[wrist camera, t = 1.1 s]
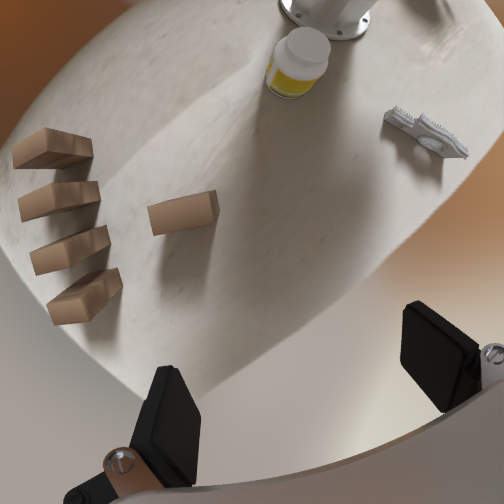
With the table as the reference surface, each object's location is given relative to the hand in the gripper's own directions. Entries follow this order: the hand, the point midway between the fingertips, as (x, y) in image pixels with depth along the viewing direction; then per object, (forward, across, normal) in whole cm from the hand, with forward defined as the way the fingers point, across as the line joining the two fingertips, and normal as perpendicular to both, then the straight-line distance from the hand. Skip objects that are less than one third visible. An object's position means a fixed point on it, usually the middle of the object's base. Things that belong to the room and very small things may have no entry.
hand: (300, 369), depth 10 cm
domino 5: (+23, +5, -6) cm, 24 cm away
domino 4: (+23, +20, 0) cm, 30 cm away
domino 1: (+23, +19, -16) cm, 34 cm away
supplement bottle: (+23, -8, -18) cm, 31 cm away
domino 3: (+23, +19, -5) cm, 31 cm away
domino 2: (+23, +19, -11) cm, 32 cm away
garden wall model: (+23, -25, -10) cm, 35 cm away
